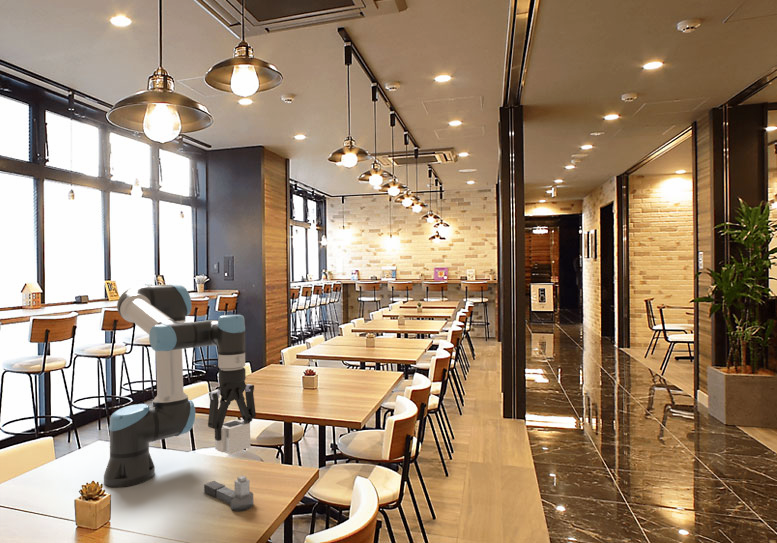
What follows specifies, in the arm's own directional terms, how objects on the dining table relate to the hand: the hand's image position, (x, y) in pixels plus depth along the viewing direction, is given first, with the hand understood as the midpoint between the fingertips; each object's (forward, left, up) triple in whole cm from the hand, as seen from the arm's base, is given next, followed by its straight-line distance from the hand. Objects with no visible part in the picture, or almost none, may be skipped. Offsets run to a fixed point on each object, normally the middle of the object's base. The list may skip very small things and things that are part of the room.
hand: (233, 447), depth 140 cm
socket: (0, 0, 0) cm, 0 cm away
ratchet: (-6, +2, -18) cm, 19 cm away
